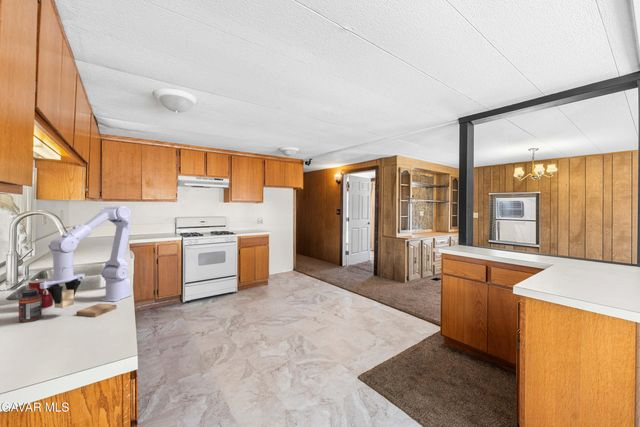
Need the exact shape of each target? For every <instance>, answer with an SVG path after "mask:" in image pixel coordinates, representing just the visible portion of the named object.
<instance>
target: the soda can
mask: <svg viewBox="0 0 640 427" xmlns="http://www.w3.org/2000/svg"><path fill="white" fill-rule="evenodd" d="M50 280H53V279H52V278H39V279H34V280H31V281H29V282H28V283H27V285H28V286H27V288H28V289H27V290H31V289H37V290H38V293H37V294H39V295H41V299H42V311H44V310H47V309H50V308H52V307H53V306H54V300H53V298H52V296H51V294H50V293H49V292H48V290H47V289H46V288H45V289H40V283H44V282H47V281H50Z"/></svg>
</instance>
